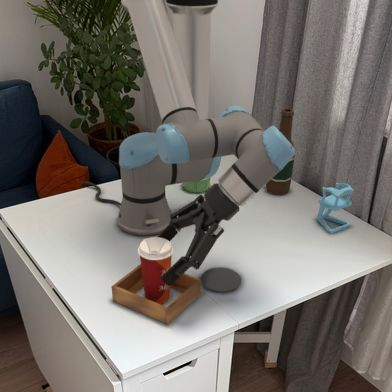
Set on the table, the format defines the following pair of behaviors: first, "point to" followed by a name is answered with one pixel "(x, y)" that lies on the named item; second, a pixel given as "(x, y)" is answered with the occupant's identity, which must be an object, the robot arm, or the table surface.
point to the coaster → (221, 280)
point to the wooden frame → (127, 296)
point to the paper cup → (155, 267)
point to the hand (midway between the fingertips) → (159, 264)
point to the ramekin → (197, 185)
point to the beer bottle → (283, 178)
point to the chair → (334, 205)
